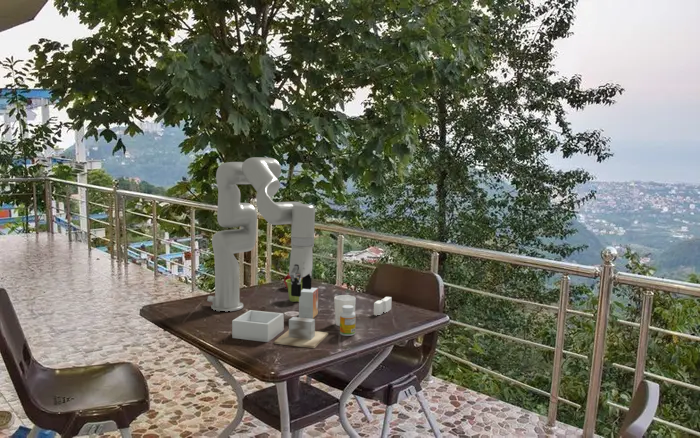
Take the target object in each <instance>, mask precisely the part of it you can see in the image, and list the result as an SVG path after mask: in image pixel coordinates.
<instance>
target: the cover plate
mask: <svg viewBox="0 0 700 438" xmlns="http://www.w3.org/2000/svg"><path fill="white" fill-rule="evenodd" d="M328 335H329V332H328V331H327V332H326V331H316V319H315V318H313V319H309V318H299V316H298V317H297V316H292V317H291V318H289V319H288V330H287V331H286V332H284V333H283V334H282V335H281V336H279V337H278V338H277V339H275V340H274V341H273V344H277V345H285V346H292V347H299V348H300V347H301V348H307V349H308V348H309V349H310V348H311V349H315V348H316V347H317V346H318V345H319V344H320V343H321V342H322V341H324V339H326V337H327V336H328Z"/></svg>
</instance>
